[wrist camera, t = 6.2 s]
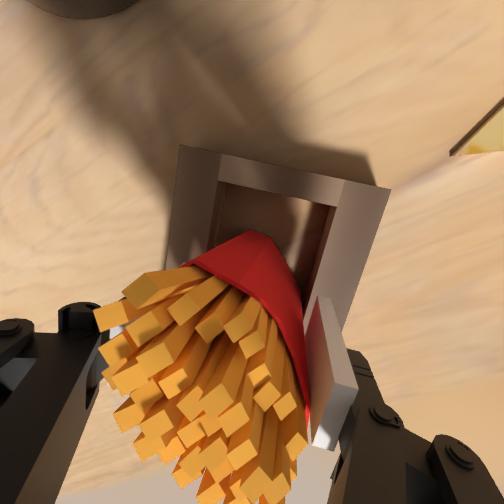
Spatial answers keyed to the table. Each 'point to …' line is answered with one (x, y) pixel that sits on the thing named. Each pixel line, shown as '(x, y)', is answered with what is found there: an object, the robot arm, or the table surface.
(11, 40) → the table surface
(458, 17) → the table surface
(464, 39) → the table surface
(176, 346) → the french fries
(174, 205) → the fry holder
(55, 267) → the table surface
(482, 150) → the pizza slice
